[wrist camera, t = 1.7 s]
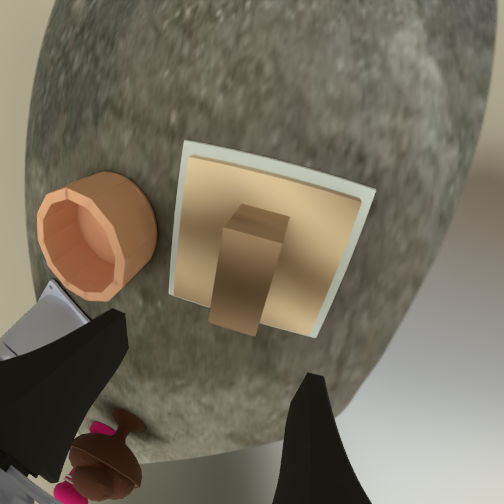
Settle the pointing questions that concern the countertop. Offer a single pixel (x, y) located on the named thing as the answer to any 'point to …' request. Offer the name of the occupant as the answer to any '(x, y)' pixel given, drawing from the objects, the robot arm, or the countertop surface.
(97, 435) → the ice cream bowl
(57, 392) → the robot arm
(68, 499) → the pepper mill
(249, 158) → the mat
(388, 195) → the countertop surface
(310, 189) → the lid
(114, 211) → the bowl
